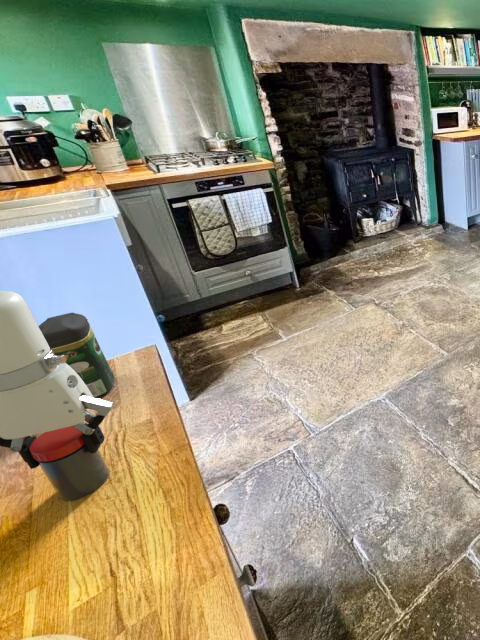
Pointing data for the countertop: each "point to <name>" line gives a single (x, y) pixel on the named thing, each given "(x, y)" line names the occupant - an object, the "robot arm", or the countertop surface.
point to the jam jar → (76, 473)
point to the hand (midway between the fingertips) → (68, 453)
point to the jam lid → (56, 444)
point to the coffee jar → (79, 350)
